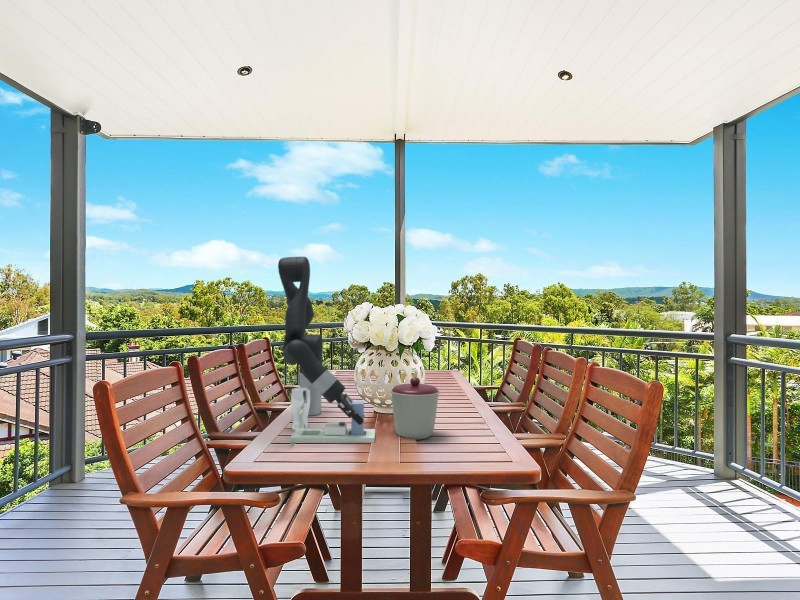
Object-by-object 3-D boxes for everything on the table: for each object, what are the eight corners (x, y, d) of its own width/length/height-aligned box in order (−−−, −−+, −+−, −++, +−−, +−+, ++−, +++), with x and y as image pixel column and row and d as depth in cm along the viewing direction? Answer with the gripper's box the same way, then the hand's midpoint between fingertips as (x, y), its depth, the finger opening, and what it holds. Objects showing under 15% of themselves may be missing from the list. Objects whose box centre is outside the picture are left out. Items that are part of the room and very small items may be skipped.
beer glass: (286, 429, 195) (287, 389, 195) (298, 425, 201) (299, 386, 201) (301, 432, 192) (302, 391, 192) (313, 428, 198) (314, 388, 198)
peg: (351, 435, 184) (352, 401, 184) (363, 436, 184) (363, 401, 184) (351, 439, 180) (351, 403, 180) (363, 439, 180) (363, 404, 180)
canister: (382, 431, 194) (383, 374, 194) (428, 428, 200) (428, 372, 200) (398, 445, 177) (399, 382, 177) (447, 441, 183) (448, 380, 183)
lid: (326, 429, 185) (326, 420, 185) (346, 429, 185) (346, 420, 185) (324, 434, 178) (324, 425, 178) (345, 434, 178) (345, 425, 178)
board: (296, 435, 187) (296, 428, 187) (375, 435, 188) (375, 428, 188) (290, 444, 175) (290, 437, 175) (374, 445, 176) (374, 437, 176)
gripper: (334, 381, 175) (369, 417, 175) (338, 375, 189) (370, 408, 189) (318, 397, 174) (353, 433, 175) (323, 390, 189) (355, 423, 189)
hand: (362, 420), depth 182 cm, fingers open, 6 cm apart
